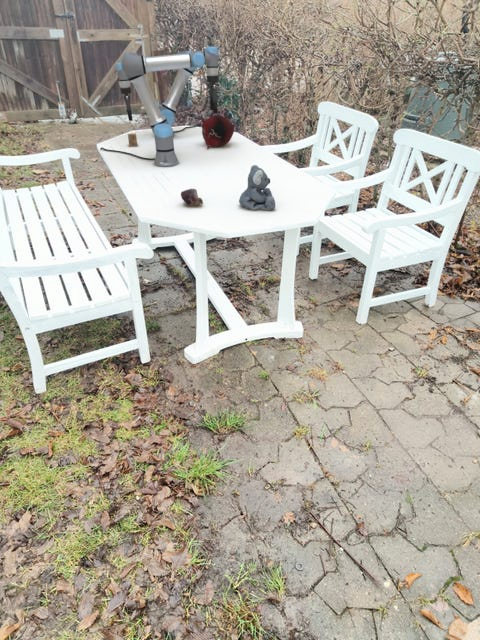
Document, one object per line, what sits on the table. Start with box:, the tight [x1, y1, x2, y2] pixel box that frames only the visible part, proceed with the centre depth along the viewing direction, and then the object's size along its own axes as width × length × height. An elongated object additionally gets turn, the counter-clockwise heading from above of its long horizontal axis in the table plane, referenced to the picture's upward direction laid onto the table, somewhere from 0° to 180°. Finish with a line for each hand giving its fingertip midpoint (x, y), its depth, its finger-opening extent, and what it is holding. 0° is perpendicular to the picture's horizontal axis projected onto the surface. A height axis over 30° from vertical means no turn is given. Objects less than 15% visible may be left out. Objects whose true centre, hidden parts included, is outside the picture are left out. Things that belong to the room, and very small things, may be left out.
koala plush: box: [238, 164, 276, 211], centre depth 224 cm, size 17×18×20 cm
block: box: [127, 132, 138, 148], centre depth 333 cm, size 6×5×8 cm
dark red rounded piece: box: [200, 114, 235, 150], centre depth 329 cm, size 21×24×25 cm
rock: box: [180, 188, 204, 207], centre depth 229 cm, size 12×9×10 cm
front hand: (213, 111), depth 295 cm, fingers open, 13 cm apart
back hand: (130, 119), depth 335 cm, fingers open, 13 cm apart
